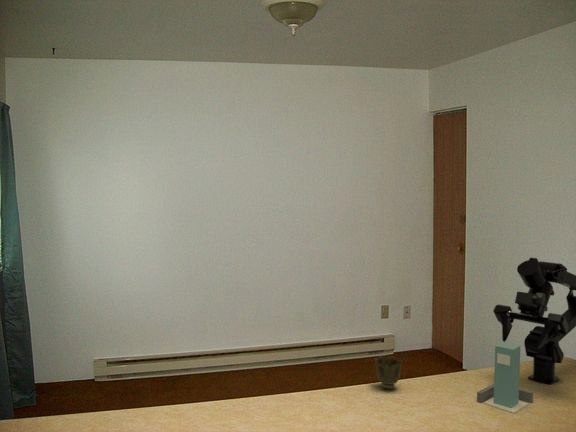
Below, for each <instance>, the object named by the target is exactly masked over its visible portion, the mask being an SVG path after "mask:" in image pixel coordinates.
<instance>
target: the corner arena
mask: <svg viewBox="0 0 576 432" xmlns="http://www.w3.org/2000/svg"><path fill="white" fill-rule="evenodd" d="M476 402H478V403H481V404H482V403H483V404H484V405H487V406H490V407H493V408H496V409H498V410H499V409H500V410H502V411H505V412H508V413H512V414H516V413H517V412H519V411H521V410H522V409H524V408H526V407H527V406H529V403H530V404H532V403H534V392H533V391H530V390H526V389H523V388H522V389H521V388H519V403H518V404H517V405H515V406H514V407H513V408H509V407H505V406H502V405H498V404H495V403H494V383H492V384H490V385H488V386H486V387H484V388H483V389H481V390H479V391H477V392H476Z"/></svg>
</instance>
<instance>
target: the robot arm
mask: <svg viewBox="0 0 576 432" xmlns="http://www.w3.org/2000/svg"><path fill="white" fill-rule="evenodd" d="M516 270H517V274H518V275H519V277H520V278H521V280H522V282H523V284H524V285H525V286H526V287H527V288H529V289H528V291H527V292H525V291H516V296H515V300H514V303H515V304H517V310H518V311H520V312H518V311H513V310H512V307H511V306H510V305H504V304H496V305H495V306H494V307H493V310H492V311H493V314H494V315H495V318H496V320H497V321H498V323H500V324H501V327H502V329H501V330H502V331H501V332H502V333H501V334H502V338H501V339H502V342H504V343H506V341H507V339H508V338H509V335H510V332H511V330H512V329H513V323H514V321H515V320H516V321H517V320H518V321H521V322H522V321H523V322H528V323H533V324H538V325H536V326H534V328H533V329H532V330H530V331H529V333H528V334H527V335H526V336H525V338H524V341H523V345H524V349H525V355H526V357H530V358H533V360H532V361H533V362H532V374H531V375H529V376H527V378H528V380H532V381H536V382H540V383H544V384H548V385H552V384H554V383H556V382H557V381H559V380H560V377H559V376H558V377H557V376H556V375H555V374H556V373H555V372H556V364H561V363H562V362H563V359H564V355H565V353H564V352H563V350H562V348H561V347H560V341H562V339H564V338H565V337H566V336H567V335H568V334H569V333H571V331H573V330H574V329H575V328H576V295H574V292H575V291H576V274H574V273H571V272H569V271H567V270H568V268H567V266H565V265H563V264H562V263H559V262H549V261H539V259H538V258H537V257H529V258H528V260H525V261H523V262H521V263H520V264H518V266H517V268H516ZM552 283H553V284H554V283H555V284H559V285H562V286H563V287H567V288H568V290H569V291H568V293H567V295H566V296H565V299H566V303H567V310H565V311H564V312H563V313H562V314H559V313H552V312H550V313H548V314H547V316H545V317H544V315H545V313H546V312H548V303H549V300H550V298H551V296H552V297H553V296H555V290H554V287H553V285H552ZM540 325H543V326H540Z"/></svg>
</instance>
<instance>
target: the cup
mask: <svg viewBox="0 0 576 432" xmlns="http://www.w3.org/2000/svg"><path fill="white" fill-rule="evenodd" d="M374 365H375V366H374V367H375V374H376V379H377V380H378V381H379V382H380V383H381V384H380V385H381V386H380V387H381V388H382V389H383V390H385V391H390V390H394V389H395V386H396V385H395V384H396V383H398V382H399V380H400V377H401V371H402V366H403V361H402V360H400V358H397V357H396V356H393V357H392V356H388V358H384V356H381V355H379V356H378V358H377V357H375V359H374Z"/></svg>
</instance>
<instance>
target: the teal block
mask: <svg viewBox="0 0 576 432" xmlns="http://www.w3.org/2000/svg"><path fill="white" fill-rule="evenodd" d="M520 368H521V345H517V344H512V343H508V342H503V341H502V342H500V343H499V344H496V345H495V346H494V371H493V372H494V375H493V377H494V378H493V384H494V396H493V397H494V403H495V404H498V405H502V406H505V407H509V408H513V407H514V406H515V405H517V404H518V403H519V401H520V400H519V389H520V372H521V371H520Z"/></svg>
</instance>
